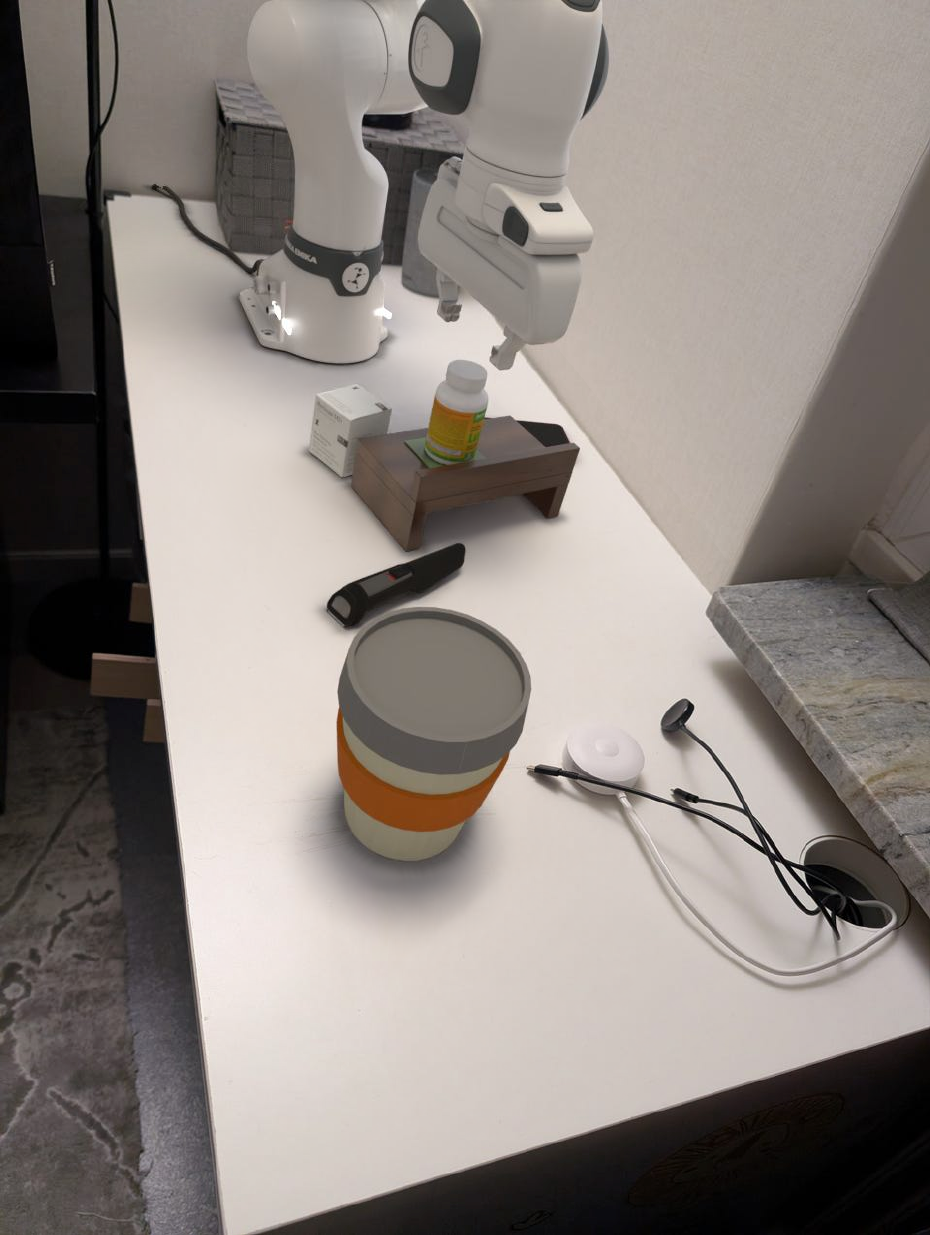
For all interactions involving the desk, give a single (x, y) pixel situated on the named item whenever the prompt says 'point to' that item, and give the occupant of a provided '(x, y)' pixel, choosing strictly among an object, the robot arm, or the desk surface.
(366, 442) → the shelf
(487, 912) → the desk surface
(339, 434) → the product carton
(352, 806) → the reusable coffee cup
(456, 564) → the electric trimmer
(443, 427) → the supplement bottle
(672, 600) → the desk surface
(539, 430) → the smartphone
